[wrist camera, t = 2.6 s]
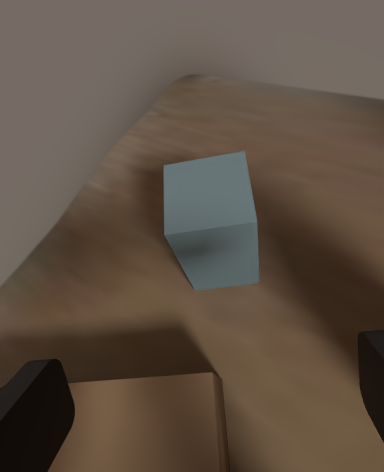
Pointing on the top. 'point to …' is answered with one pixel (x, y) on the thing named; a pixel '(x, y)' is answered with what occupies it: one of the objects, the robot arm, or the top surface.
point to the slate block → (212, 220)
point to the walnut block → (147, 426)
